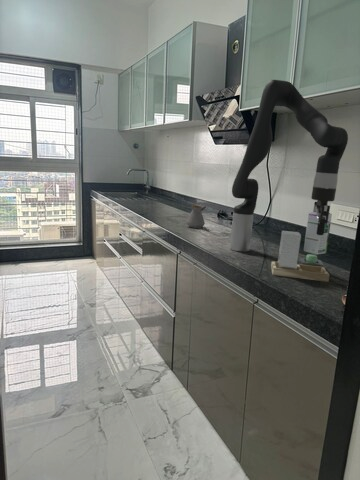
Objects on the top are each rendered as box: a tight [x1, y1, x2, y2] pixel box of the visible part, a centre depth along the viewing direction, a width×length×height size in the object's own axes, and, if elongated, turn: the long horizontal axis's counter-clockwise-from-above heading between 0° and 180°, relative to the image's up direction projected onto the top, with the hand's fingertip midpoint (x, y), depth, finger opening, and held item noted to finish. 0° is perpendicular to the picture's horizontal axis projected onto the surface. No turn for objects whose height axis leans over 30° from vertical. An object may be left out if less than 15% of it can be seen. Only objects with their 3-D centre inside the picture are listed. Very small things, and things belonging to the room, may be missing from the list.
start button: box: [305, 253, 318, 263], centre depth 139 cm, size 4×4×4 cm
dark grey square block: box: [297, 256, 325, 268], centre depth 139 cm, size 8×8×4 cm
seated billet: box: [277, 230, 302, 270], centre depth 129 cm, size 6×6×15 cm
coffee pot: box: [185, 205, 208, 229], centre depth 212 cm, size 21×12×15 cm, turn 16°
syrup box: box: [303, 211, 333, 256], centre depth 125 cm, size 6×6×14 cm
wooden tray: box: [270, 260, 330, 282], centre depth 129 cm, size 10×19×4 cm, turn 79°
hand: (317, 232), depth 126 cm, fingers closed on syrup box, 8 cm apart
